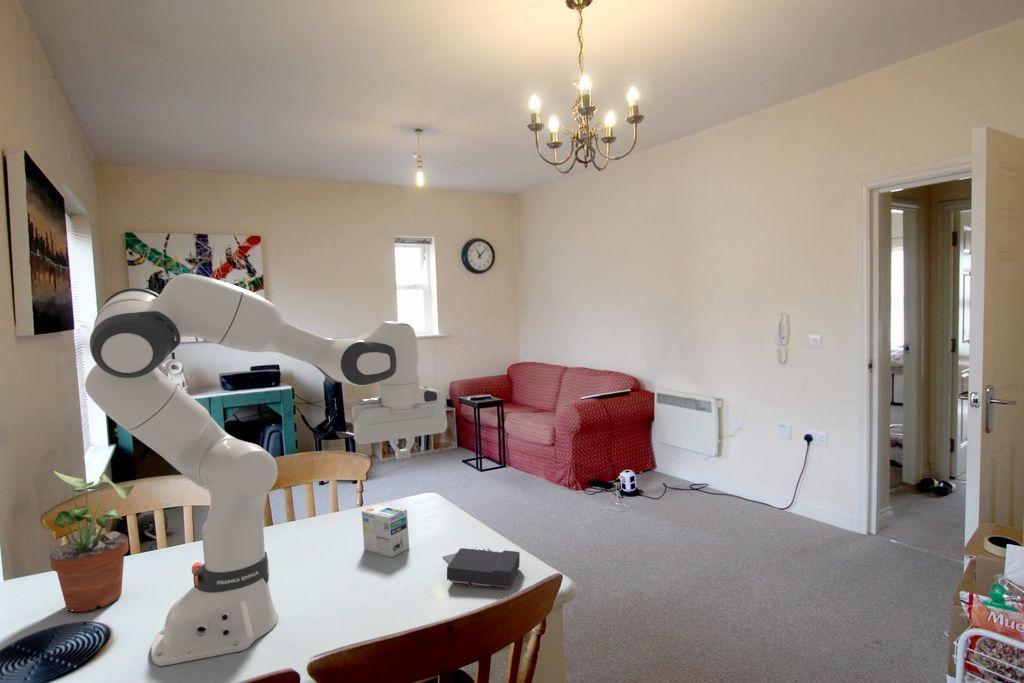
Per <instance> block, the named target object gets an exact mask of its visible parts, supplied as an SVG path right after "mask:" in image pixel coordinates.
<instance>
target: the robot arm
mask: <svg viewBox="0 0 1024 683" xmlns="http://www.w3.org/2000/svg"><path fill="white" fill-rule="evenodd" d="M185 337H193V338H199V339H201V340H205V341H208V342H211V343H214V344H216V345H220V346H224V347H226V348H230V349H234V350H237V351H243V352H250V353H264V352H270V353H271V352H273V353H279V354H282V355H284V356H288V357H290V358H293V359H296V360H300V361H302V362H304V363H307V364H310V365H312V366H314V367H315V368H316V369H318V371H319V372H321V373H322V374H323V375H324V376H325V378H327V379H329V380H330V381H332V382H335V383H336V382H337V383H342V384H343V383H345V384H348V385H352V386H356V387H363V386H368V385H371V384H375V383H378V385H377V386H378V397H373V398H368V399H359V400H358V401H357V402H355V403H354V404H353V405H352V407H351V417H352V420H353V422H354V423H353V439H354V440H355V442H356V443H357V444H359V445H368V444H369V445H370V444H375V443H381V442H388V441H389V444H390V446H391V447H392V448H393V451H394V455H395V459H396V460H402V459H403V460H404V459H409V458H411V450H412V448H413V446H414V444H415V442H416V439H415V438H416V437H421V436H427V435H435V434H436V435H437V434H442V433H445V431H447V429H448V417H447V412H446V408H445V405H444V403H442V402H441V400H442V397H443V396H442V392H441V391H439V390H437V389H434V388H429V387H427V386H421V385H420V377H419V373H418V364H419V348H418V342H417V341H418V340H417V335H416V331H415V330H414V328H413V327H412V326H411V325H410V324H408V323H405V322H399V321H390V320H389V321H388V320H384V321H383V320H382V321H379V323H378V324H377V325H376V326H374V327H373V328H371V330H369V331H367V332H366V333H364V334H363V335H360V336H359V337H358V336H357V337H356V338H350V337H346V336H336V337H326V336H322V335H319V334H316V333H313V332H311V331H309V330H306V329H304V328H302V327H298V326H295V325H293V324H292V323H290V322H288V320H286V319H285V318H284V317H283V316H282V313H281V312H280V309H279V308H278V306H277V305H275V303H272V302H271V301H269V300H268V299H267V298H264V297H263V296H261V295H259V294H257V293H255V292H253V291H251V290H248V289H245V288H243V287H240V286H238V285H235V284H232V283H230V282H225V281H224V280H221V279H220V280H219V279H216V278H213V277H208V276H204V275H200V274H195V273H187V272H186V273H185V272H184V273H181V274H178V275H175V276H174V277H173V278H171V279H170V280H169V281H168V282H167V283H166V285H165V286H164V288H163V289H162V291H161V293H160V294H158V293H157V292H155V291H154V290H151V289H148V288H143V287H128V288H123V289H121V290H119V291H116V292H115V293H113V294H112V295H111V296H109V297H108V298H107V299H106V300H105V301H104V303H103V305H102V307H101V309H100V310H99V312H98V313H97V315H96V317H95V320H94V323H93V330H92V332H91V335H90V338H89V350H90V354H91V357H92V359H93V361H94V362H95V365H94V366H93V367H92V368H91V369H90V371H89V373H88V374H87V377H86V379H85V383H84V388H85V391H86V393H87V395H88V396H89V398H90V399H91V400H92V401H93V402H94V403H95V404H96V405H97V407H99V408H100V410H102V411H103V413H105V414H106V415H107V416H108V417H109V418H110V419H111V420H113V421H114V422H115V423H116V424H117V425H119V426H120V427H121V428H123V429H124V430H125V431H127V432H128V433H129V434H131V435H132V436H133V437H135V438H136V439H137V440H139V441H140V442H142V443H143V444H144V445H146V446H147V447H149V448H150V449H151V450H152V451H154V452H156V454H158V455H160V456H161V457H162V458H163V459H164V460H165V461H166V462H167V463H169V464H170V465H171V466H172V467H173V468H174V469H175V470H176V471H178V472H180V473H181V474H182V475H183V476H184V477H185V478H186V479H188V480H190V481H191V483H193V484H195V485H196V486H198V487H199V488H202V489H205V490H207V491H208V494H209V497H210V498H209V499H210V503H209V509H208V515H207V520H206V521H205V522H204V524H203V525H202V529H201V533H202V534H201V535H202V536H201V537H202V548H203V550H202V551H203V562H204V563H202V562H200V561H197V562H195V563H193V565H192V566H191V574H192V575H193V587H191V588H190V589H189V590H188V591H187V592H186V593H185V594H183V596H181V597H180V598H179V599H178V600H176V601H175V602H174V603H173V605H172V606H171V607H170V609H169V611H168V613H167V615H166V618H165V620H164V626H163V628H161V630H159V631H158V633H157V634H156V635H155V637H154V638H153V641H152V644H151V651H150V654H151V655H150V656H151V660H152V662H153V663H154V664H155V665H157V666H160V667H164V666H169V665H174V664H179V663H180V664H181V663H184V662H190V661H195V660H201V659H205V658H210V657H212V658H213V657H217V656H221V655H228V654H231V653H237V652H242V651H245V650H247V649H249V647H251V645H253V643H254V642H255V641H257V640H258V639H259V638H260V637H262V636H264V635H266V634H267V633H268V632H270V631H271V630H272V629H273V628H274V627H275V626H276V624H277V622H278V620H279V616H278V613H277V611H276V608H275V605H274V602H273V598H272V595H271V591H270V587H269V586H270V584H269V581H270V564H269V557H268V554H267V552H266V551H265V550H266V549H265V535H264V533H265V531H264V512H265V506H266V501H267V496H268V493H269V492H270V491H271V490H272V489H273V486H274V485H275V483H276V482H277V478H278V474H279V473H278V472H279V469H278V464H277V461H276V459H275V457H273V455H272V454H270V453H269V452H268V451H267V450H266V449H264V448H263V447H262V446H260V445H259V444H256V443H253V442H248V441H244V440H242V439H238V438H236V437H234V436H233V435H231V434H229V433H228V432H226V431H225V430H224V429H223V428H222V427H221V426H220V425H219V424H218V423H217V421H215V419H214V418H213V417H212V416H211V414H210V412H209V411H208V408H206V407H204V406H203V405H202V404H201V403H200V402H198V400H196V399H195V398H194V397H192V396H191V395H190V394H189V393H188V392H186V391H185V390H184V389H183V388H182V387H181V386H179V385H178V384H177V383H175V382H174V381H173V380H172V379H171V378H170V377H169V376H167V375H166V374H165V373H163V371H161V370H160V369H159V366H160V365H161V364H162V363H163V362H164V360H166V359H167V357H168V356H169V355H170V354H172V352H173V351H174V350H176V349H177V347H178V346H179V345H180V344H181V338H185ZM402 439H405V441H407V443H406V445H405V447H404V448H402V449H401V448H400V449H399V447H398V446H397V445H399V440H402Z"/></svg>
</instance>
